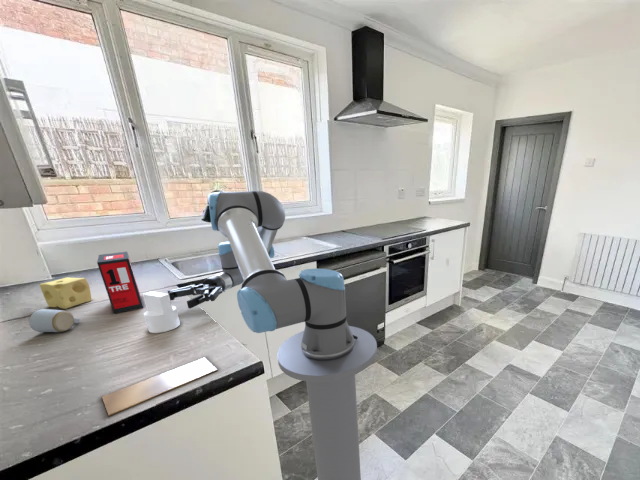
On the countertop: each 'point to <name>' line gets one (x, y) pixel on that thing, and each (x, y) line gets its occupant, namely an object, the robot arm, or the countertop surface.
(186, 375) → the tan rectangular plate
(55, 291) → the cheese
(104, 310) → the countertop surface
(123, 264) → the cleaning product box
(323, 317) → the robot arm
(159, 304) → the cylinder with rectangular tab
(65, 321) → the ceramic mug
